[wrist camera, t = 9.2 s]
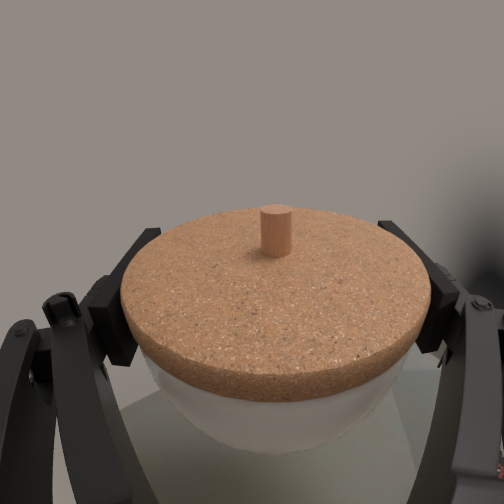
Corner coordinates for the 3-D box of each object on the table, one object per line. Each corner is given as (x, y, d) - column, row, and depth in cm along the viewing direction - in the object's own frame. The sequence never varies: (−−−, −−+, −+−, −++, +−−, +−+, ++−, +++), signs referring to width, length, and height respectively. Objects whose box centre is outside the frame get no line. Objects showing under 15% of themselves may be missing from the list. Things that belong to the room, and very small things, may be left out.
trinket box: (222, 530, 7) (135, 404, 3) (146, 360, 16) (101, 202, 12) (421, 408, 12) (494, 232, 8) (302, 306, 20) (306, 166, 16)
